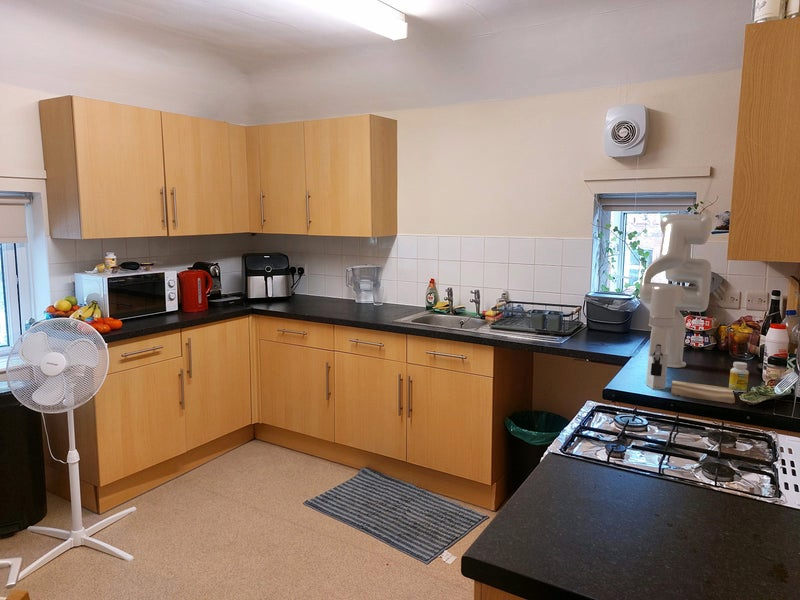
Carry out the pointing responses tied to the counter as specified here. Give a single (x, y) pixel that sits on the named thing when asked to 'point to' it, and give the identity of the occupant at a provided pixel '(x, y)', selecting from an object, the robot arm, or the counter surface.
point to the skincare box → (657, 381)
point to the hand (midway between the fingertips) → (656, 372)
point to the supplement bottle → (739, 377)
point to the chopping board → (703, 391)
